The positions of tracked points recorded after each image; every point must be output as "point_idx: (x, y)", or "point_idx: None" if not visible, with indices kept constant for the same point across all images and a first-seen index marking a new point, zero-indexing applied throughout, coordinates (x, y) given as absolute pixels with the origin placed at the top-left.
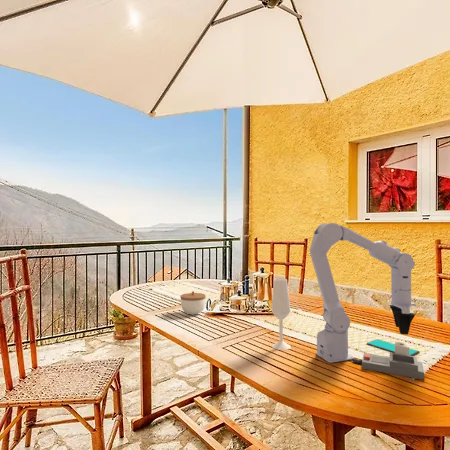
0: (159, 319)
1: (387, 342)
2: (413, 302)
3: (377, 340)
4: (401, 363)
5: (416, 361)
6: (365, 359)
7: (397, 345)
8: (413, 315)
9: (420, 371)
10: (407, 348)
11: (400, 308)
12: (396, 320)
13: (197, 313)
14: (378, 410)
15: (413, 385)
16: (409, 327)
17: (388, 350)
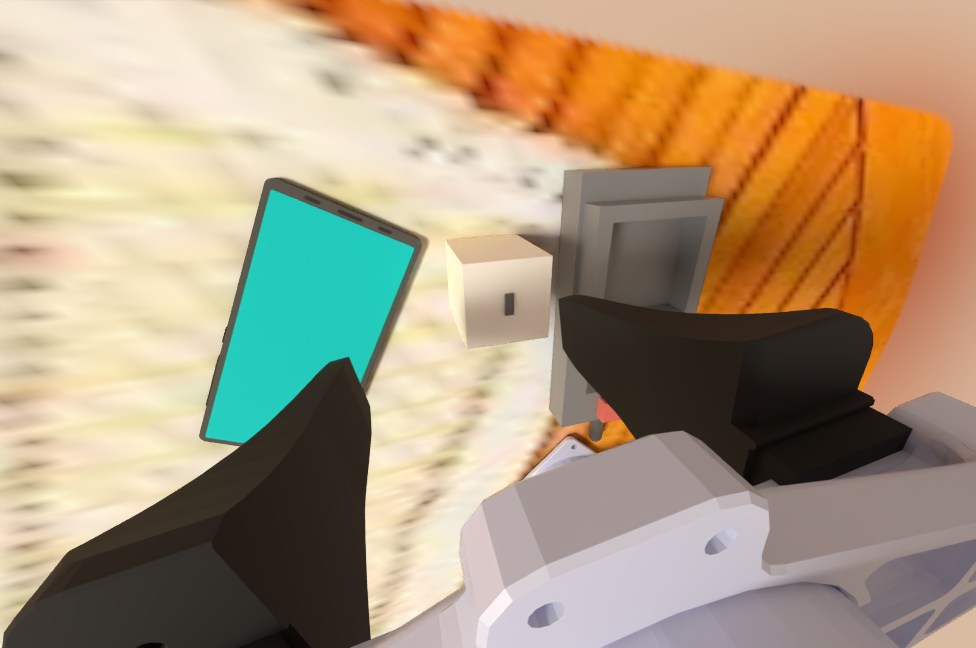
0: None
1: (224, 382)
2: (481, 630)
3: (230, 433)
4: (703, 273)
5: (673, 205)
6: None
7: (538, 324)
8: (860, 327)
9: (704, 184)
10: (547, 264)
11: (316, 588)
12: (363, 453)
13: None
14: (876, 294)
15: (739, 210)
16: (627, 305)
17: (378, 351)
